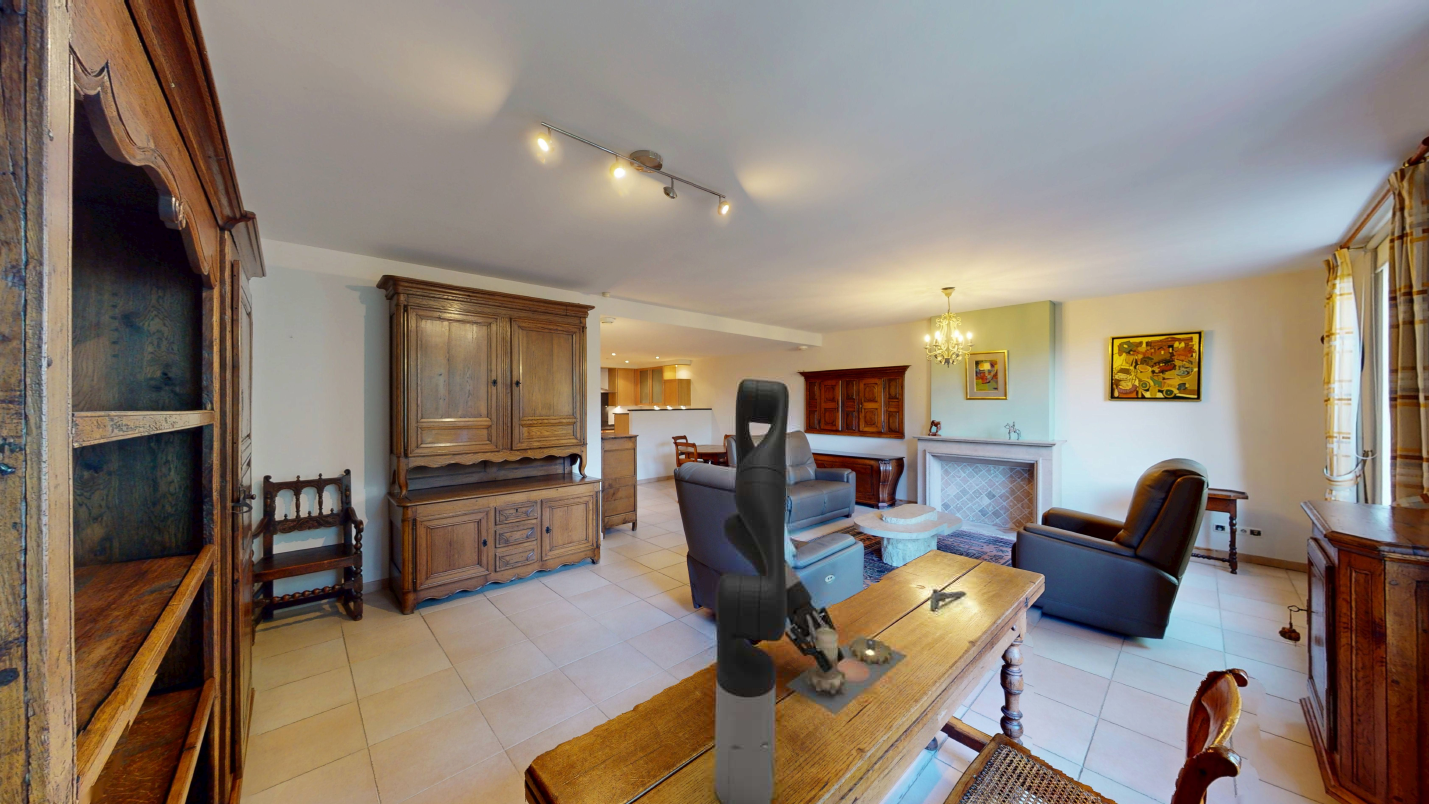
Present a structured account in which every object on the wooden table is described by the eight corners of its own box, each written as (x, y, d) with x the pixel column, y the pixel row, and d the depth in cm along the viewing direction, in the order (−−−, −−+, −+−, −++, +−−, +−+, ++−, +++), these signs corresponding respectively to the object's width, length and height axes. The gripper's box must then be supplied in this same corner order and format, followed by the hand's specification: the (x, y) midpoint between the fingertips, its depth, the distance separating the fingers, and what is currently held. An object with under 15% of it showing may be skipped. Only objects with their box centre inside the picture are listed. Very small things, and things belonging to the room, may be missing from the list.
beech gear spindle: (852, 691, 94) (853, 641, 94) (814, 694, 93) (815, 644, 93) (836, 669, 102) (837, 623, 101) (801, 671, 100) (802, 624, 100)
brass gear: (900, 664, 106) (900, 651, 106) (860, 667, 104) (860, 653, 104) (879, 642, 115) (880, 630, 115) (843, 644, 114) (843, 632, 114)
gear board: (835, 722, 89) (835, 714, 89) (784, 692, 98) (785, 684, 98) (907, 662, 109) (907, 655, 109) (860, 641, 118) (860, 635, 118)
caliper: (933, 613, 135) (934, 591, 135) (930, 611, 136) (930, 590, 136) (966, 595, 148) (967, 575, 148) (963, 594, 149) (963, 574, 149)
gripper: (778, 590, 97) (830, 672, 89) (813, 571, 107) (863, 644, 99) (756, 607, 100) (805, 688, 92) (793, 588, 111) (839, 659, 103)
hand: (834, 665), depth 96 cm, fingers closed on beech gear spindle, 4 cm apart
